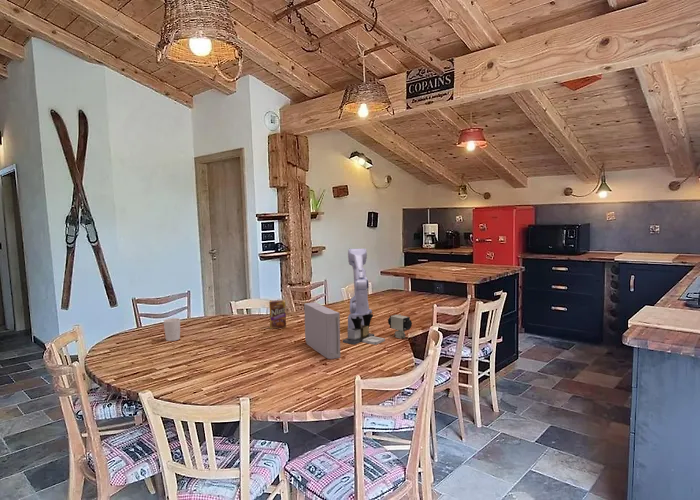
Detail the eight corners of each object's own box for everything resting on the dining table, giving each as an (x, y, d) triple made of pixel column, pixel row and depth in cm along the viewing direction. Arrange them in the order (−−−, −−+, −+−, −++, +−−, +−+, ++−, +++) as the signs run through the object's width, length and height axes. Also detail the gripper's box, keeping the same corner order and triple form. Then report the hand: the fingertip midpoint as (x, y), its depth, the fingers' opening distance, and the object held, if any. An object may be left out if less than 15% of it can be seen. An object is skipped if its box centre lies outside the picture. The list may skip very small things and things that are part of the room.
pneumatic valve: (406, 341, 222) (406, 316, 221) (387, 336, 230) (387, 313, 229) (413, 338, 226) (413, 314, 225) (394, 334, 234) (394, 311, 233)
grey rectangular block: (347, 341, 221) (347, 329, 221) (353, 339, 225) (352, 327, 225) (355, 343, 219) (354, 330, 218) (360, 340, 222) (360, 328, 222)
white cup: (184, 338, 235) (183, 319, 234) (172, 342, 228) (171, 322, 227) (173, 336, 238) (172, 317, 237) (161, 340, 231) (160, 321, 230)
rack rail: (342, 343, 220) (342, 339, 220) (363, 335, 234) (363, 332, 234) (354, 345, 216) (354, 342, 216) (374, 337, 230) (374, 334, 230)
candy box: (269, 329, 249) (268, 301, 248) (270, 327, 254) (269, 300, 252) (286, 328, 251) (285, 301, 249) (286, 326, 255) (285, 299, 254)
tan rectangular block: (356, 338, 227) (355, 326, 227) (361, 336, 231) (361, 324, 230) (363, 339, 224) (363, 327, 224) (368, 337, 228) (368, 325, 227)
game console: (328, 360, 196) (327, 314, 194) (304, 344, 220) (303, 303, 219) (340, 357, 199) (339, 312, 197) (315, 342, 223) (314, 302, 221)
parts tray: (362, 342, 220) (361, 339, 220) (371, 339, 227) (371, 335, 227) (375, 345, 216) (375, 342, 215) (384, 341, 222) (384, 338, 222)
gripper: (359, 306, 218) (360, 334, 219) (376, 301, 229) (377, 328, 230) (348, 305, 222) (348, 332, 223) (365, 300, 234) (365, 326, 235)
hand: (362, 330), depth 227 cm, fingers open, 7 cm apart
